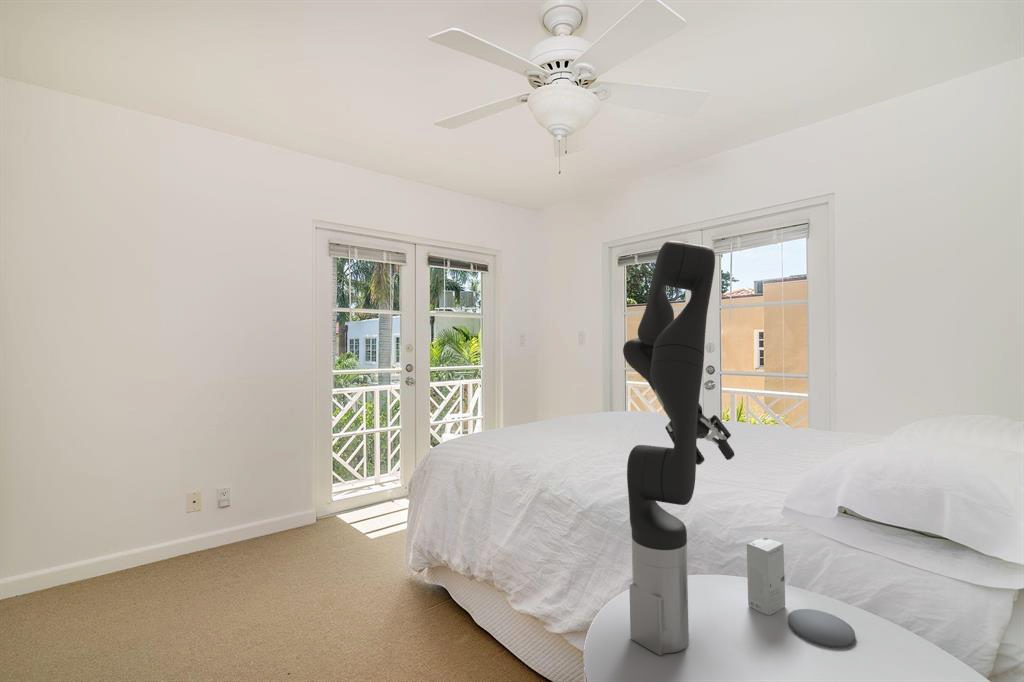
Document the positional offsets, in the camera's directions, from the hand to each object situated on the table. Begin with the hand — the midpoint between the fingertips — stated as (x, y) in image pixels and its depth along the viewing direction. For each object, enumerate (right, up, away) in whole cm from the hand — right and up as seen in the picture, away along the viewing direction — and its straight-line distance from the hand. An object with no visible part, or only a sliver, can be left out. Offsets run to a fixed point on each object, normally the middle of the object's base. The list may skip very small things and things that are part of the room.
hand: (716, 460), depth 104 cm
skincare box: (+5, -26, -10) cm, 28 cm away
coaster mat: (+11, -25, -18) cm, 33 cm away
